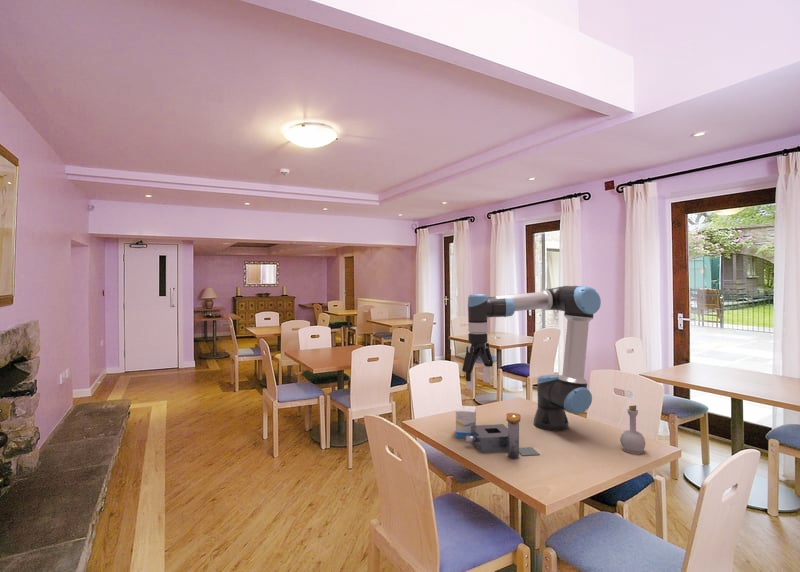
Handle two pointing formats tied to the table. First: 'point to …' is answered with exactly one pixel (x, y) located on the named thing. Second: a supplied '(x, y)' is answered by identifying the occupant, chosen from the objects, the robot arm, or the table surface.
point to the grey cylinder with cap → (513, 435)
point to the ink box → (465, 420)
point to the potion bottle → (632, 435)
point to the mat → (528, 451)
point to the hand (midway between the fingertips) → (478, 385)
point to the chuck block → (489, 438)
